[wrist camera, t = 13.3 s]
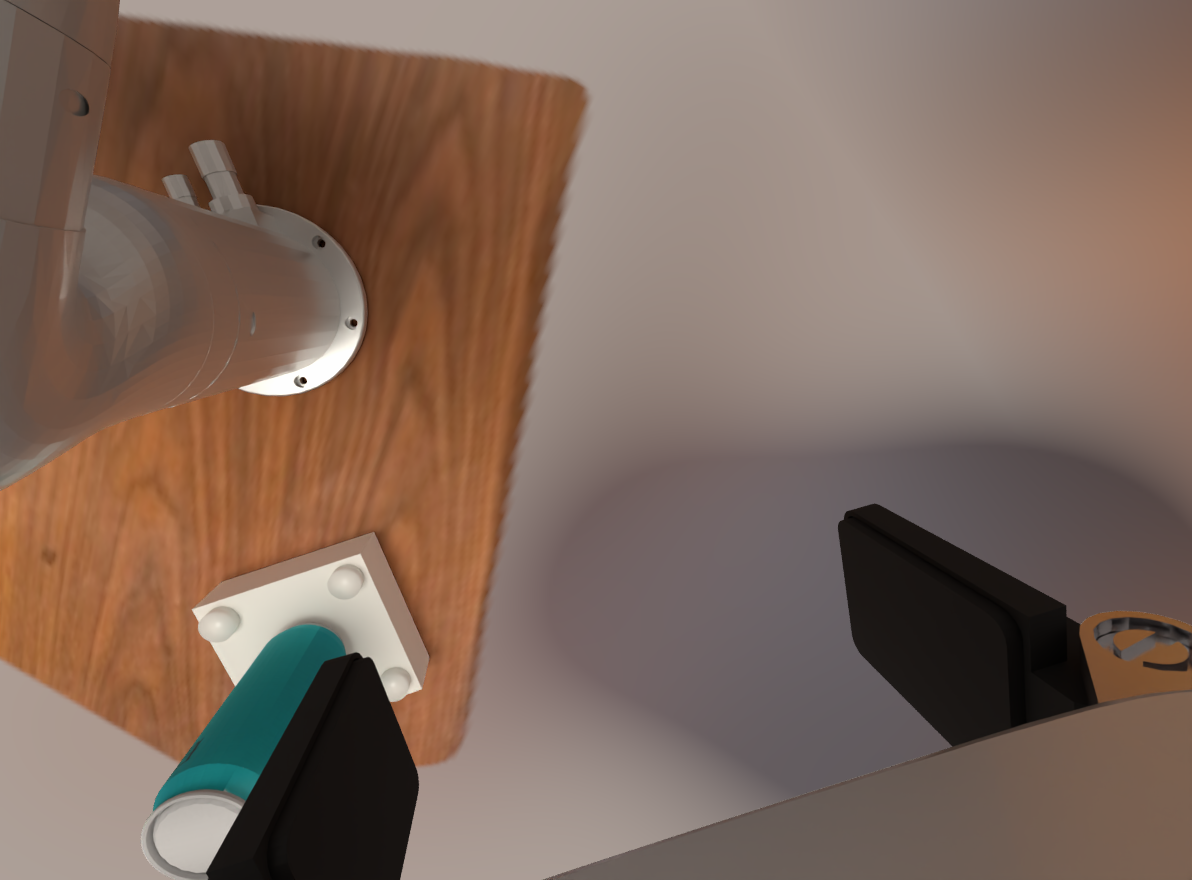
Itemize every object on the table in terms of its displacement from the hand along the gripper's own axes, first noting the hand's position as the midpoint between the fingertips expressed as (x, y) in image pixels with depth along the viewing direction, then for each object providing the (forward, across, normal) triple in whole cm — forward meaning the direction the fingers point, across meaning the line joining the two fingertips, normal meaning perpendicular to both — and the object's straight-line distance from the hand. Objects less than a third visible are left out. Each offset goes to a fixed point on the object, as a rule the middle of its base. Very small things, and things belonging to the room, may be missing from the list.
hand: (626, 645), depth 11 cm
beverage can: (+29, +21, +13) cm, 38 cm away
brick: (+33, +21, +13) cm, 41 cm away
